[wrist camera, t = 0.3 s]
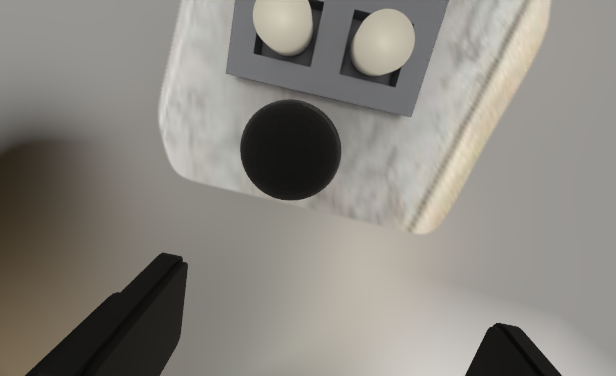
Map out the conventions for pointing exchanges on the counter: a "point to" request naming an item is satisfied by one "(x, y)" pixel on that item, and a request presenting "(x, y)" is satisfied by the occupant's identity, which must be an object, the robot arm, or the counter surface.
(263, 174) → the microphone
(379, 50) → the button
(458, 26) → the counter surface
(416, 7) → the board
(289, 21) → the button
